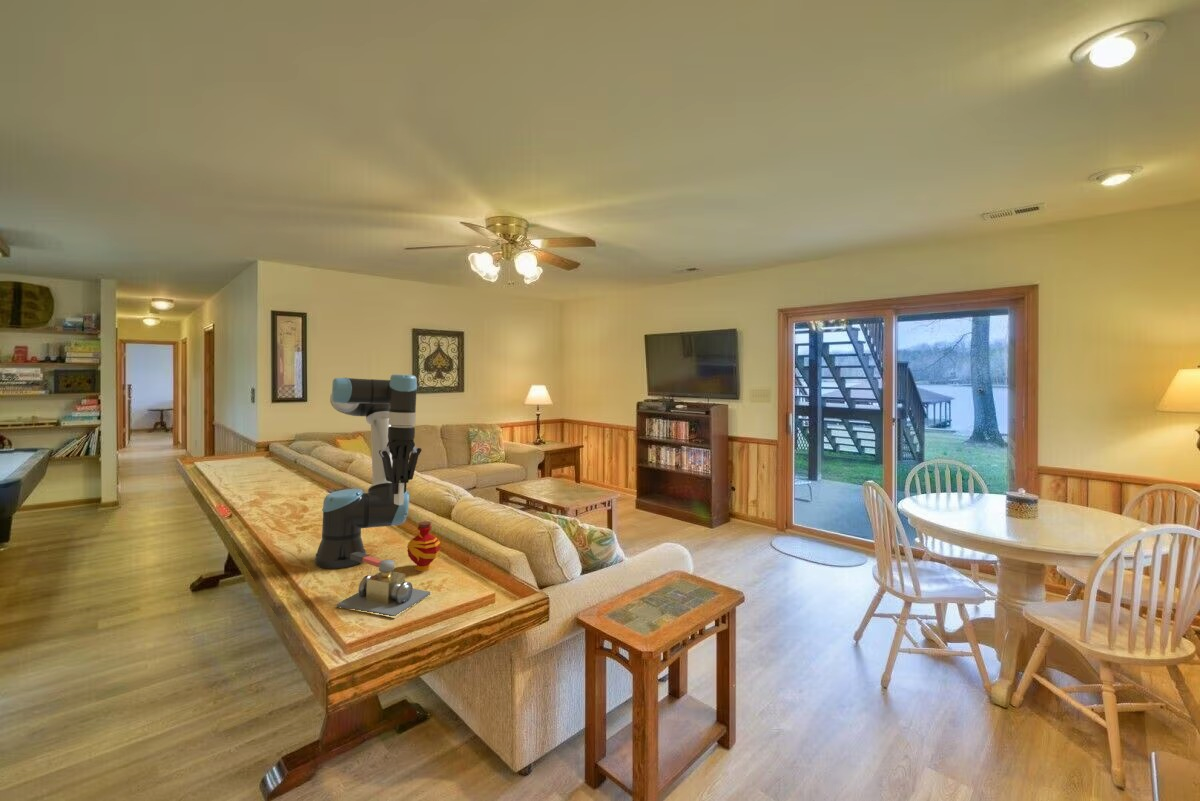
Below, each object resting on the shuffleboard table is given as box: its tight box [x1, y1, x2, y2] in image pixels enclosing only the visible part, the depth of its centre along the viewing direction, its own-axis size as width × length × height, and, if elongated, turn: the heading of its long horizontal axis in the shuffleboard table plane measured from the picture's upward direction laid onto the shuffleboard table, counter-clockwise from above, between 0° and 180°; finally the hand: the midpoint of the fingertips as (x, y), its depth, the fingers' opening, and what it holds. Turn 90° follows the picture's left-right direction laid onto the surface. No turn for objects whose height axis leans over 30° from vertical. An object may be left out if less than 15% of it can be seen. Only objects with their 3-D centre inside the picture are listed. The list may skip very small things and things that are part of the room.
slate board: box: [336, 588, 431, 616], centre depth 143 cm, size 18×16×1 cm
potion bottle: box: [406, 520, 441, 572], centre depth 168 cm, size 10×10×15 cm
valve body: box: [358, 570, 414, 605], centre depth 143 cm, size 14×7×8 cm, turn 75°
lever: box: [350, 552, 395, 572], centre depth 145 cm, size 16×4×2 cm, turn 62°
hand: (398, 504), depth 154 cm, fingers closed
